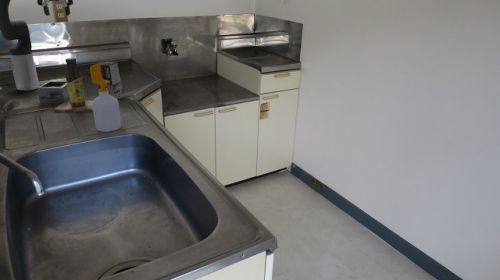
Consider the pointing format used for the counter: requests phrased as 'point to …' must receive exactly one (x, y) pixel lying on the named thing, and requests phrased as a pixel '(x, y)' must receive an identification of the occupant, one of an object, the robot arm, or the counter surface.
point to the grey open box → (53, 92)
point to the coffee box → (112, 78)
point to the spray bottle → (104, 104)
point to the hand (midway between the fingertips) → (57, 15)
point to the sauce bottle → (74, 83)
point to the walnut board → (74, 107)
